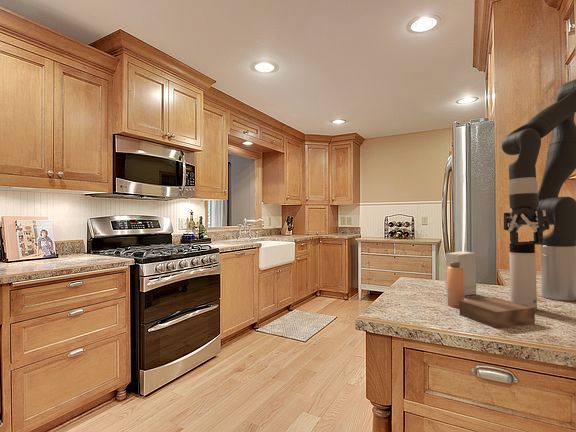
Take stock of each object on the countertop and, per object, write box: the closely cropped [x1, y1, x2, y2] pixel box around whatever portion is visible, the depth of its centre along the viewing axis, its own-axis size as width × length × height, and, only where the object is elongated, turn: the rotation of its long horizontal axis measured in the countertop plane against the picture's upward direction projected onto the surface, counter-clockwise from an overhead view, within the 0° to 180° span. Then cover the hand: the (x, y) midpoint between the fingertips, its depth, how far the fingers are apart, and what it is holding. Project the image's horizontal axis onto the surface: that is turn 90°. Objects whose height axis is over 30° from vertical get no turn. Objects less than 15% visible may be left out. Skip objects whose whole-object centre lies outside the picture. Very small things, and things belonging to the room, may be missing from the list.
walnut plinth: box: [459, 296, 536, 329], centre depth 87 cm, size 12×12×4 cm
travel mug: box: [508, 240, 538, 312], centre depth 96 cm, size 6×7×20 cm
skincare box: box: [445, 250, 477, 297], centre depth 115 cm, size 8×6×15 cm
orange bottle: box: [446, 262, 465, 309], centre depth 100 cm, size 5×5×14 cm
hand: (525, 244), depth 103 cm, fingers open, 8 cm apart
